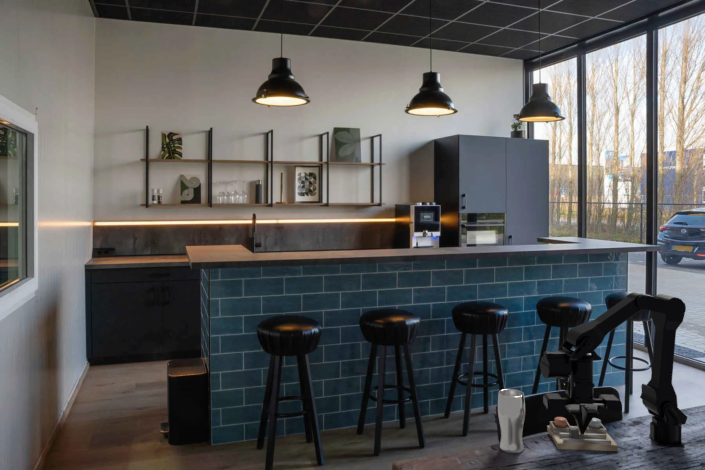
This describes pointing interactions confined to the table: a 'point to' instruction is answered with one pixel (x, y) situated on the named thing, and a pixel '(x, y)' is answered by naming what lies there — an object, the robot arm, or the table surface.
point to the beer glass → (511, 419)
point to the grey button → (595, 423)
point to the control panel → (582, 438)
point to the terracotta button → (560, 422)
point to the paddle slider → (573, 433)
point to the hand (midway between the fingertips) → (581, 433)
